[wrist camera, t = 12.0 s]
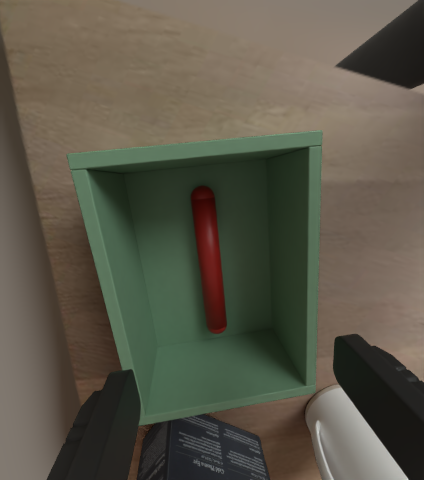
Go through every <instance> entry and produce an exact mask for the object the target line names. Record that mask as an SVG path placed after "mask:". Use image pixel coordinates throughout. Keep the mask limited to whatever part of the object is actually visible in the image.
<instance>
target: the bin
mask: <svg viewBox="0 0 424 480" xmlns="http://www.w3.org/2000/svg"><path fill="white" fill-rule="evenodd" d="M321 145H322V130H318V131H308V132H297V133H286V134H275V135H264V136H254V137H243V138H232V139H221V140H211V141H200V142H189V143H178V144H167V145H157V146H146V147H135V148H124V149H114V150H103V151H92V152H81V153H71V154H67V159H68V163H69V167H70V170H72V171H71V174H72V178H73V182H74V186H75V189H76V193H77V197H78V201H79V205H80V209H81V213H82V217H83V220H84V224H85V228H86V232H87V236H88V240H89V244H90V247H91V251H92V255H93V259H94V263H95V267H96V271H97V274H98V278H99V282H100V286H101V290H102V294H103V298H104V301H105V305H106V309H107V313H108V317H109V321H110V325H111V329H112V332H113V336H114V340H115V344H116V348H117V352H118V356H119V359H120V363H121V367H122V370H128V369H132V370H133V372H134V376H135V380H136V384H137V388H138V392H139V396H140V401H141V415H140V421H139V426H142V425H147V424H153V423H158V422H163V421H169V420H174V419H179V418H185V417H190V416H195V415H201V414H206V413H211V412H217V411H222V410H227V409H232V408H238V407H243V406H248V405H254V404H259V403H264V402H270V401H275V400H280V399H286V398H291V397H296V396H302V395H307V394H312V393H315V391H316V385H315V384H316V352H317V314H318V277H319V239H320V201H321V163H322V146H321ZM202 185H204V186H207V187H209V188H211V189H212V191H213V192H214V195H215V204H216V214H217V224H218V235H219V245H220V255H221V265H222V276H223V286H224V296H225V306H226V316H227V327H226V329H225V330H224V331H223V332H222V333H220V334H213V333H211V332H210V331H209V330H208V328H207V324H206V316H205V308H204V301H203V293H202V285H201V277H200V269H199V261H198V253H197V245H196V237H195V229H194V222H193V214H192V206H191V193H192V191H193V190H194V189H195V188H196V187H198V186H202Z"/></svg>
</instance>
